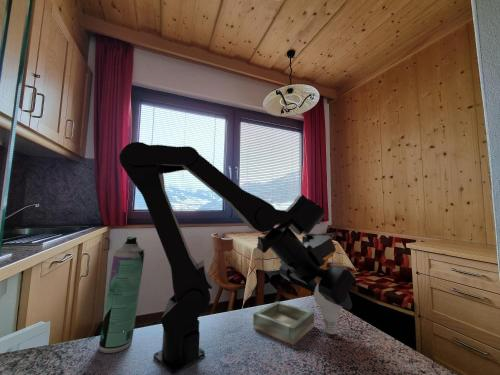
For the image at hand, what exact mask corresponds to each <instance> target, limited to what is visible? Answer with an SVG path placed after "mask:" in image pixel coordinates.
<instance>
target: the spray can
mask: <svg viewBox="0 0 500 375" xmlns="http://www.w3.org/2000/svg"><path fill="white" fill-rule="evenodd" d="M137 238H138V237H136V236H128V237H127V238H126V241H125V242H124V243H123V245H121V246H119V247H118V248H115V251H114V253H113V259H112V263H111V269H110V270H111V271H110V277H109V282H108V288H107V294H106V301H105V306H104V313H103V319H102V325H101V331H100V337H99V344H98V351H99V352H101V353H105V354H113V353H114V354H115V353H118V352H122V351H124V350H126V349H127V348H129V347H130V346H131V345H132V344H133V339H134V338H133V336H134V331H135V324H136V316H137V309H138V303H139V302H138V301H139V295H140V289H141V281H142V275H143V267H144V260H145V248H142V247H141V246H140V244H139V243H138V241H137ZM123 331H124V332H123Z"/></svg>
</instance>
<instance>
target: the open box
mask: <svg viewBox="0 0 500 375" xmlns="http://www.w3.org/2000/svg"><path fill="white" fill-rule="evenodd" d="M252 326H253V329H254V330H257V331H259V332H261V333H263V334H267V335H268V336H271V337H273V338H275V339H278V340H281V341H282V342H285V343H287V344H289V345H292V346H295V345H296V343H298V342H299V341H300V340H301V339H302V338H304V336H305V335H306V334H307V333H308V332H310V331H311V330H312V329H314V327H315V312H314V311H312V310H308V309H304V308H302V307H297V306H295V305H291V304H288V303H284V302H281V301H278V300H277V301H275V302H273V303H271V304H269V305H268V306H266V307H264V308H262V309H260V310H259V311H256V312H255V313H253V324H252Z"/></svg>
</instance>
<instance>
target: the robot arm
mask: <svg viewBox="0 0 500 375" xmlns="http://www.w3.org/2000/svg"><path fill="white" fill-rule="evenodd" d="M118 156H119V157H118V158H119V163H120V164H121V167H122V168H123V169H124V171H125V173H126V175H127V176H128V178H129V179H130V181H131V182H132V183H133V185H134V186H135V187H136V188H137V190H138V191H139V192H140V194H141V196H142V197H143V200H144V203H145V206H146V208H147V211H148V213H149V216H150V218H151V221H152V222H153V225H154V228H155V231H156V233H157V236H158V239H159V240H160V243H161V246H162V249H163V251H164V253H165V256H166V259H167V262H168V263H169V266H170V271H171V281H172V289H173V295H172V296H171V297H170V298H169V299H168V302H166V303H167V304H166V307H165V309H164V312H163V314H162V317H161V318H160V322H161V325H162V329H163V331H162V332H163V333H162V347H161V350H159V351H157V352H155V353H154V354H153V359H154V360H156V362H158V363H159V364H160V365H162V366H163V367H164V368H165V369H166V370H168V371H169V372H170V373H171V374H176V373H177V372H179V371H181V370H182V369H184V368H186V367H187V366H189V365H191V364H192V363H195V362H196V361H197V360H200V358H202V357H205V354H206V351H205V350H203V349H202V348H201V347H200V337H201V336H200V320H199V316H200V315H201V314H203V313H204V312H205V311H206V310H207V309H208V307H209V305H210V303H211V289H213V283H212V278H211V277H212V276H210V275H209V274H208V272H207V270H206V265H205V261H204V259H202V260H201V261H199V262H198V263H197V261H196V260H195V258H194V257H193V256H192V254H191V251H190V249H189V247H188V244H187V242H186V241H187V240H186V239H185V236H184V234H183V232H182V229H181V227H180V225H179V222H178V220H177V217H176V214H175V211H174V208H173V206H172V204H171V201H170V199H169V196H168V194H167V191H166V186H165V178H164V177H165V176H164V174H171V173H174V172H181V171H187V172H188V173H190V174H191V175H192V176H193V177H194V178H196V180H197V179H198V180H199V182H200V183H202V184H203V185H205V186H206V187H207V188H208V189H210V190H211V191H212V192H214V194H216V195H217V196H218V197H219V198H221V199H222V200H223V201H225V202H226V203H227V204H228V205H229V206H230V207H231V208H232V210H234V212H235V213H236V215H237V216H238V217H239V218H240V219H241V221H242V222H243V223H244V224H245V225H246V226H247V228H249V229H251V230H254V231H257V232H260V233H265V232H266V234H265V235H264V236H257V244H256V245H257V246H256V248H257V250H259V251H260V252H262V253H263V254H266V253H267V252H268V250H270V249H271V251H272V252H273V253H274V254H275V256H276V257H277V258H278V259H279V260H280V261H279V264H280V266H279V274H280V276H281V277H282V279H285V280H287V281H288V282H290V283H292V284H294V285H296V286H298V287H301V288H303V289H304V290H308V291H309V292H312V293H314V290H315V287H316V285H317V284H318V283H319V284H318V292H319V293H320V294H321V295H322V296H323V297H325V299H326V300H328V301H330V302H332V303H334V304H337V305H339V306H342V308H345V309H347V310H348V311H350V310H351V309H352V308H353V303H352V300H351V297H350V295H349V291H350V290H351V288H352V287H353V285H354V284H355V281H356V276H355V275H354V273H353V272H352V271H351V270H350V269H349V268H345V267H342V266H339V265H330V266H329V268H327V269H324V268H322V267H323V266H324V265H325V263H326V260H325V258H326V257H328V256H330V255H331V254H333V253H335V252H336V251H337V249H336V246H335V243H334V241H333V238H332V236H330V235H322V234H319V235H313V234H311V231H312V230H313V229H314V228H315V227H316V226H317V225H318V223H319V222H320V221H321V220H322V219H323V218H324V217H325V210H323V208H322V207H321V206H320V204H318V203H316V202H315V201H313V200H312V199H311V198H310V199H309V198H307V197H306V196H305V195H304V194H301V195H298V196H297V197H296V198H295V199H294V200H293V202H292V203H291V204H290V205H289V206H288V207H287V208H286V210H285V209H283V210H281V209H276V208H275V207H274V205H273V204H272V203H270V202H268V201H266V200H264V199H263V198H261V197H260V196H256V195H255V194H252V193H250V192H249V191H247V190H245V189H243V188H242V187H241V186H239V185H238V184H237V183H235V182H234V181H233V180H231V178H229V177H228V176H227V175H225V174H224V173H223V172H222V171H221V170H219V169H218V168H216V166H215V165H214V164H212V163H211V162H210V161H208V160H207V158H205V157H204V156H203V155H201V154H200V153H199V152H198V150H197V149H195V148H194V147H192V146H187V145H183V146H172V145H164V144H147V143H145V142H141V141H135V142H134V141H132V142H131V143H128V144H126V145H125V146H124V147H123V148H122V150H121V151H120V153H119V155H118ZM276 225H277V226H276ZM275 226H276V227H275ZM302 234H303V235H302ZM297 235H299V236H301V235H302V237H301V240H300V239H299V237H297ZM315 280H317V281H319V282H318V283H317V282H316V281H315Z"/></svg>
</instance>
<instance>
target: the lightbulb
mask: <svg viewBox="0 0 500 375" xmlns="http://www.w3.org/2000/svg"><path fill="white" fill-rule="evenodd" d="M316 284H317V285H316V287H315V290H314V292H313V295H314V296H313V297H314V300H315V302H316V304H317V306H318V307H319V309H320V312H321V316H322V318H323V331H324V332H325V333H326V334H327V335H329V336H333V335H335V334H337V333H338V331H337V330H338V328H337V327H338V326H337V325H338V324H337V322H338V321H337V320H338V318H339V314H340V311H341V310H342V308H343V307H342V306H339V305H337V304H334V303H332V302H330V301H328V300H326V299H325V297H323V296H322V295H321V294H320V293H319V292H318V284H319V282H318V283H316Z"/></svg>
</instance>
